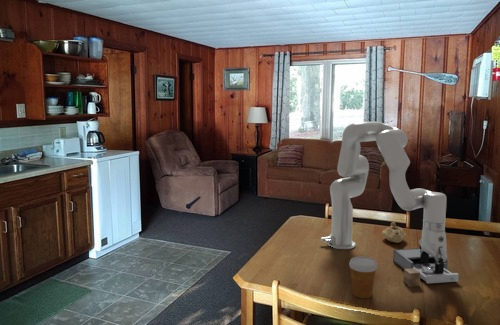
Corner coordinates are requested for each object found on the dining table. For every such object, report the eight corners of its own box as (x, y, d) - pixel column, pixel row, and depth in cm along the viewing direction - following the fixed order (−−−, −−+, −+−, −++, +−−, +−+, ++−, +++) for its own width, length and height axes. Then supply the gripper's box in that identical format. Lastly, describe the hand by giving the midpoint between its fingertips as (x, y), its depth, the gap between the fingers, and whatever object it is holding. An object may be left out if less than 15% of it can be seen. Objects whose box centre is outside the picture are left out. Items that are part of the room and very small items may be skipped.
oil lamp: (389, 247, 184) (389, 230, 183) (378, 236, 199) (378, 221, 197) (412, 246, 184) (413, 230, 183) (400, 236, 199) (400, 220, 198)
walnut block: (409, 286, 144) (409, 273, 143) (403, 281, 148) (404, 268, 147) (419, 285, 144) (420, 272, 144) (413, 281, 148) (414, 268, 148)
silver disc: (427, 276, 149) (428, 270, 148) (417, 268, 156) (417, 263, 155) (445, 274, 150) (445, 269, 149) (434, 267, 157) (434, 262, 156)
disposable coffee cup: (344, 288, 143) (345, 256, 141) (370, 287, 144) (371, 255, 142) (353, 301, 133) (354, 267, 132) (381, 299, 134) (382, 266, 133)
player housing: (410, 275, 153) (411, 262, 153) (393, 261, 167) (393, 249, 166) (446, 272, 155) (447, 260, 154) (426, 259, 169) (427, 247, 168)
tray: (428, 284, 144) (428, 276, 144) (408, 268, 158) (408, 261, 157) (459, 281, 146) (459, 274, 145) (436, 266, 159) (436, 259, 159)
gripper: (457, 231, 142) (454, 277, 144) (430, 218, 159) (427, 259, 161) (438, 232, 141) (435, 278, 143) (412, 219, 158) (410, 260, 160)
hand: (431, 268), depth 152 cm, fingers open, 9 cm apart
